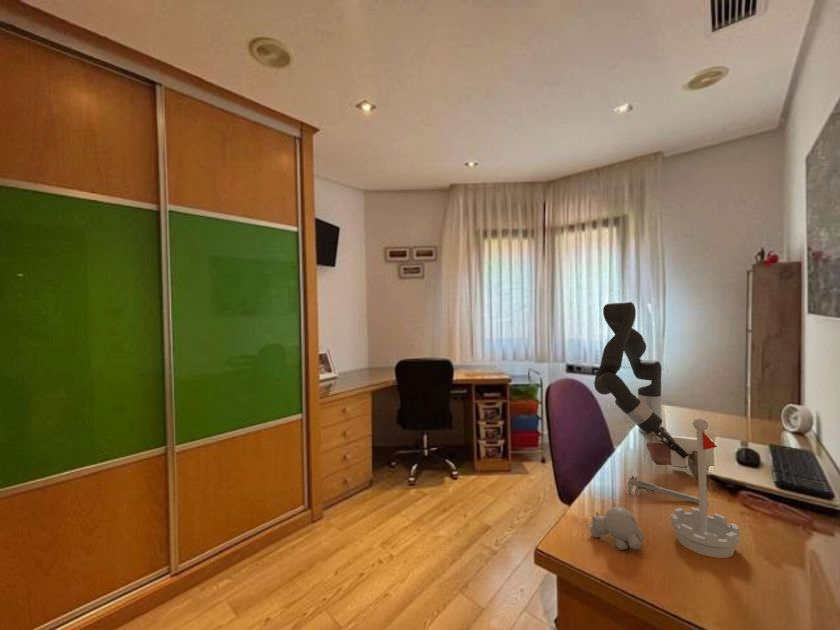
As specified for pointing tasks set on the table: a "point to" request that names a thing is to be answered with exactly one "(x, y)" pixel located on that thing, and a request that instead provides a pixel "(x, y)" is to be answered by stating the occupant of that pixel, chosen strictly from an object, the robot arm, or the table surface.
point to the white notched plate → (690, 451)
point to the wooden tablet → (660, 453)
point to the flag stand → (704, 513)
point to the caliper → (657, 490)
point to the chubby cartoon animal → (618, 528)
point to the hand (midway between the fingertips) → (685, 455)
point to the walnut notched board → (693, 463)
